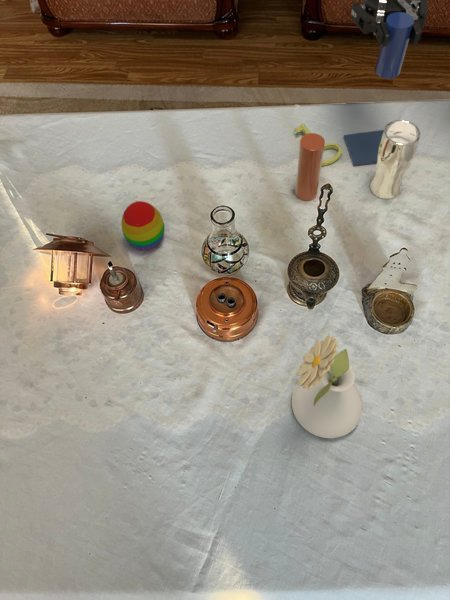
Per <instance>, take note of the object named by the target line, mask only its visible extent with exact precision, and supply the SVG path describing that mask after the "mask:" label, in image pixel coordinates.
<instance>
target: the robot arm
mask: <svg viewBox="0 0 450 600" xmlns="http://www.w3.org/2000/svg"><path fill="white" fill-rule="evenodd" d="M361 2H362V4H360V3H359V2H353V3H352V5H351V12H350V19H351V21H353V23H354V24H355V25H356V26H357V27H358V29H359V30H360V31H361V33H362V34H364V35H368V34H370V33H373V35H374V36H375V38H376V41H377V43H378V44H379V45H381V44H382V47H386V46H387V45H388V41H389V33H388V30H387V28H386V25H385V24H386V19H387V17H388V16H389V15H390V14H392V13H395V12H403V13H407V14H409V15H411V16H412V17H413V19H414V23H413V27H412V31H411V34H410V38H409V41H410V42H411V44H412V45H417V44H418V42H419V41H420V40H421V37H422V33H423V29H424V27H425V24H426V19H427V18H428V0H361ZM373 19H374V20H373Z"/></svg>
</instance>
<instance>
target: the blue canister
mask: <svg viewBox="0 0 450 600" xmlns="http://www.w3.org/2000/svg"><path fill="white" fill-rule="evenodd" d="M413 23H414V19H413V17H412V16H411V15H409V14H407V13H403V12H395V13H392V14H390V15H389V16H388V17H387V19H386V22H385V25H386V28H387V30H388V33H389V41H388V45H387V46H386V47H382V44H379V45H380V46H379V50H378V54H377V59H376V63H375V68H374V72H375V74H376V75H377V76H378V77H380V78H381V79H384V80H385V79H386V80H391V79H395V78H397V77H398V76H399V75H400V73H401V70H402V66H403V63H404V60H405V57H406V52H407V48H408V45H409V41H410V34H411V31H412V27H413Z"/></svg>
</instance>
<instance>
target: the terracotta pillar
mask: <svg viewBox="0 0 450 600" xmlns="http://www.w3.org/2000/svg"><path fill="white" fill-rule="evenodd" d="M325 144H326V140H325V138H324V137H323V136H322V135H320V134H318V133H316V132H315V133H314V132H311V133H309V134H306V135H305V134H303V136H301V137H300V140H299V148H298V157H297V158H298V160H297V170H296V180H295V190H294V194H295V196H296V197H297V199H299V200H300V201H304V202H309V201H310V202H311V201H312V200H314V199H316V197H317V196H318V193H319V192H318V191H319V185H320V178H321V172H322V166H321V165H322V161H323V158H324V151H325V150H324V145H325Z"/></svg>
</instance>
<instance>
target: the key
mask: <svg viewBox="0 0 450 600" xmlns="http://www.w3.org/2000/svg"><path fill="white" fill-rule="evenodd" d="M293 130H294V132H295V133H296V134H299V133H301V132H303V134H304V135H306V134H309V133H312V132H311V130H310V129H309V128H308V127H307V126H306V125H305V124H304V123H301V124H299V126H298V127H295V128H294V129H293ZM330 149H333V150H336V151H337V153H336V154H335V155H334V156H333V157H331V158H328V159H326V160H322V165H321V167H325V166H328V165H329V166H330V165H331V164H333V163H335V162H336V161H338V160H339V159H340V158H341V156H342V154H343V148H342V147H341V145H339V144H338V143H337V142H327V143H326V142H325V145H324V151H325V150H330Z"/></svg>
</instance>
